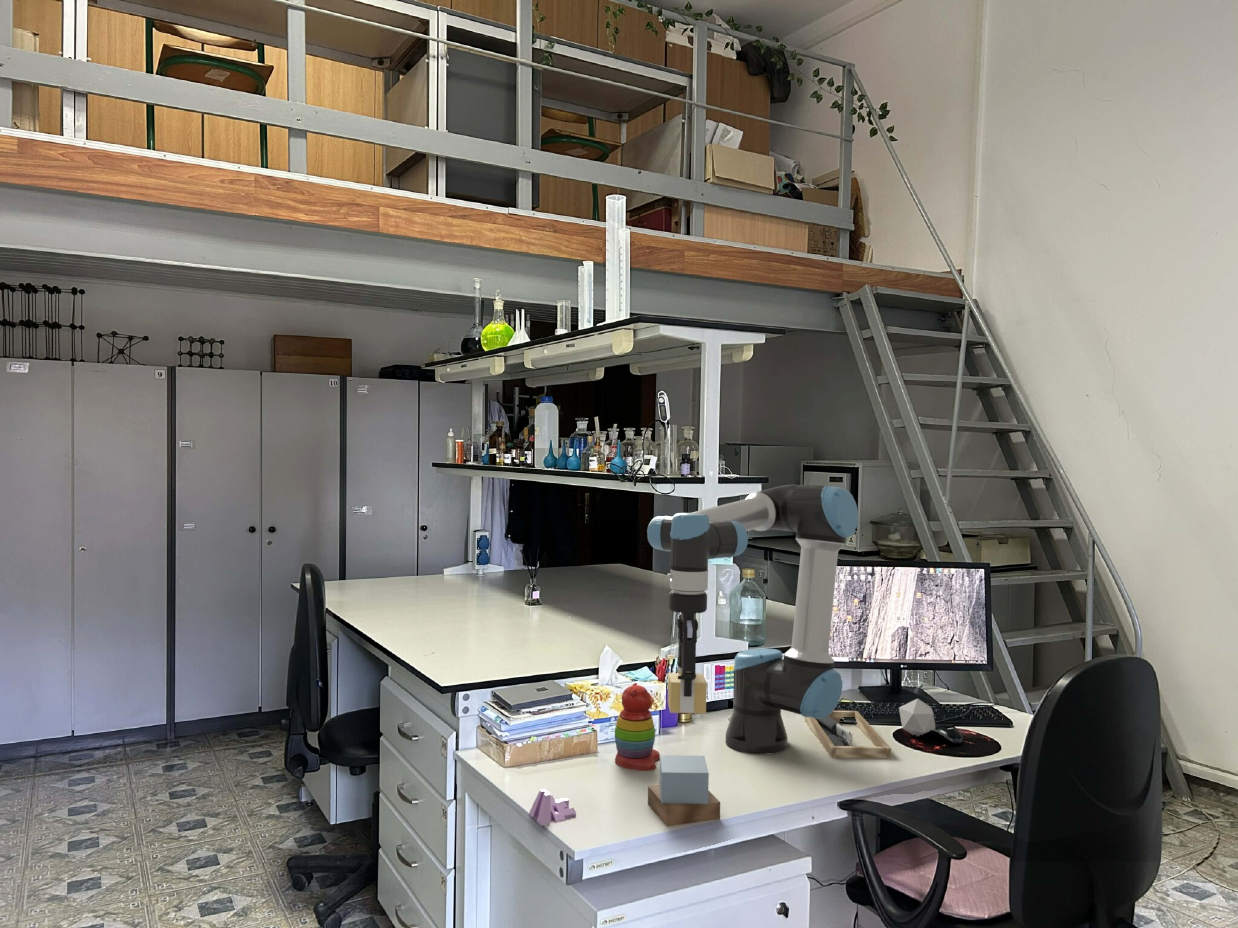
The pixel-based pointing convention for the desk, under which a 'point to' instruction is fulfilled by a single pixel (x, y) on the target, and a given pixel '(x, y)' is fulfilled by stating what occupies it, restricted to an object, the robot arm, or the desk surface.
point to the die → (917, 717)
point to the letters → (550, 808)
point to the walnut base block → (682, 809)
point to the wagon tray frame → (851, 751)
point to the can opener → (835, 732)
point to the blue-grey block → (683, 779)
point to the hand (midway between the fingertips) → (685, 705)
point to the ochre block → (699, 693)
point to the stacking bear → (636, 731)
